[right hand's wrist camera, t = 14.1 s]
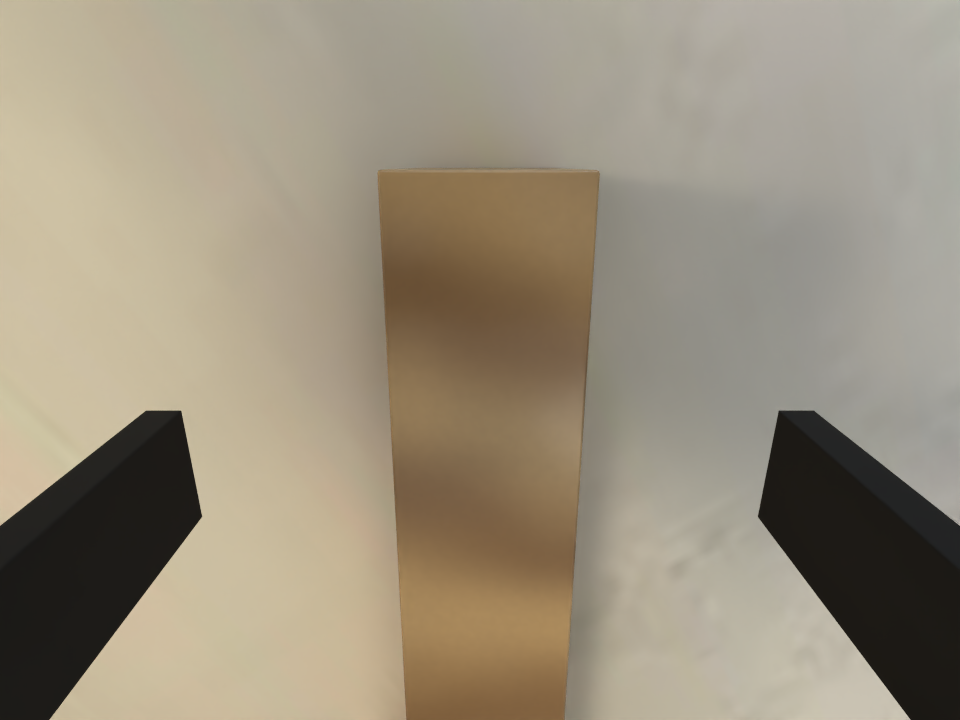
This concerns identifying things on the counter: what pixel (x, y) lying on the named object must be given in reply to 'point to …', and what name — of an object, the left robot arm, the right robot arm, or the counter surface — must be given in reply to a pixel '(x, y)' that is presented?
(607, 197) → the counter surface
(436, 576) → the beam
